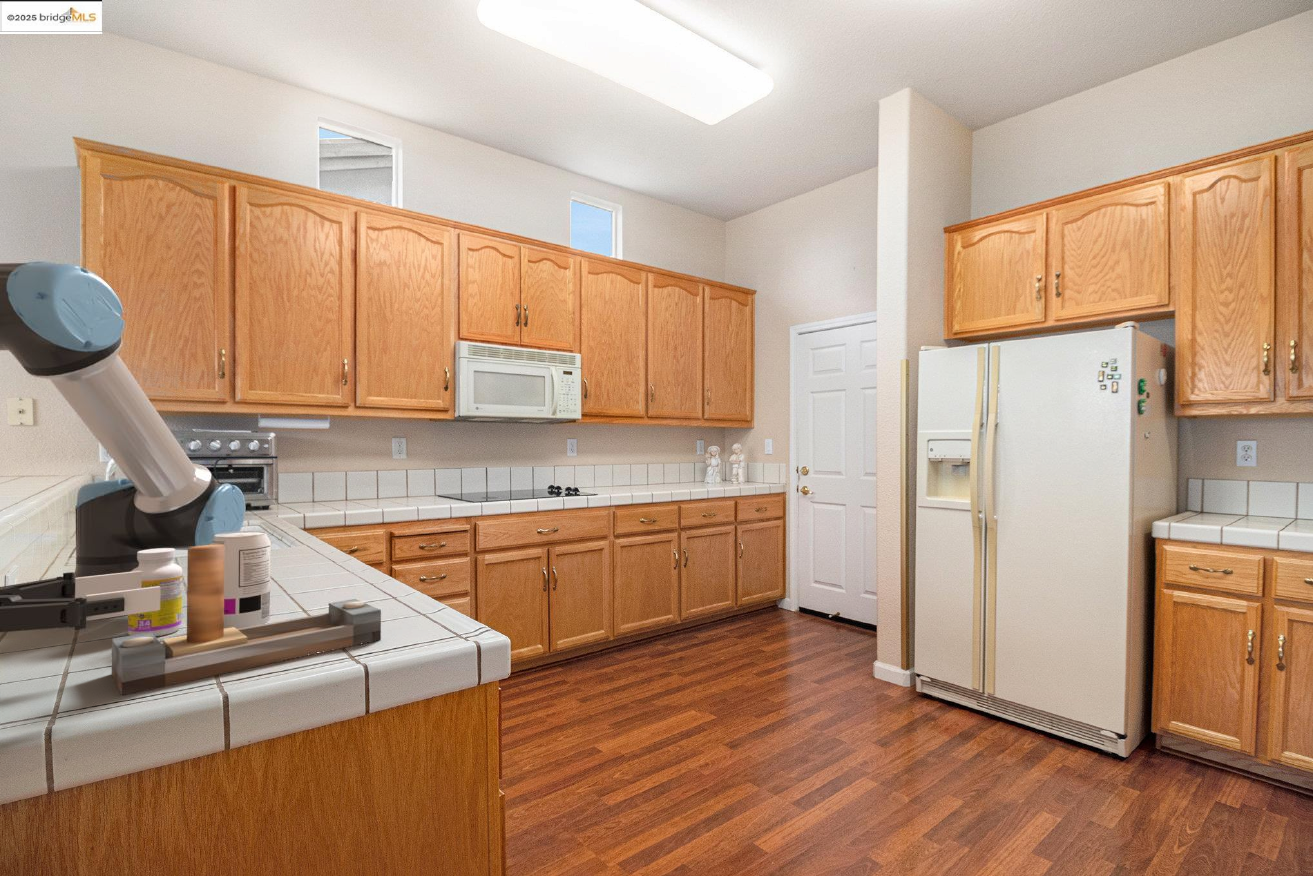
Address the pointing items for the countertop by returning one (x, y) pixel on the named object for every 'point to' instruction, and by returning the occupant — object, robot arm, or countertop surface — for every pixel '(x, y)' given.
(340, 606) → the track
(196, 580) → the carriage
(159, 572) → the supplement bottle
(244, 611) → the supplement can
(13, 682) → the countertop surface
